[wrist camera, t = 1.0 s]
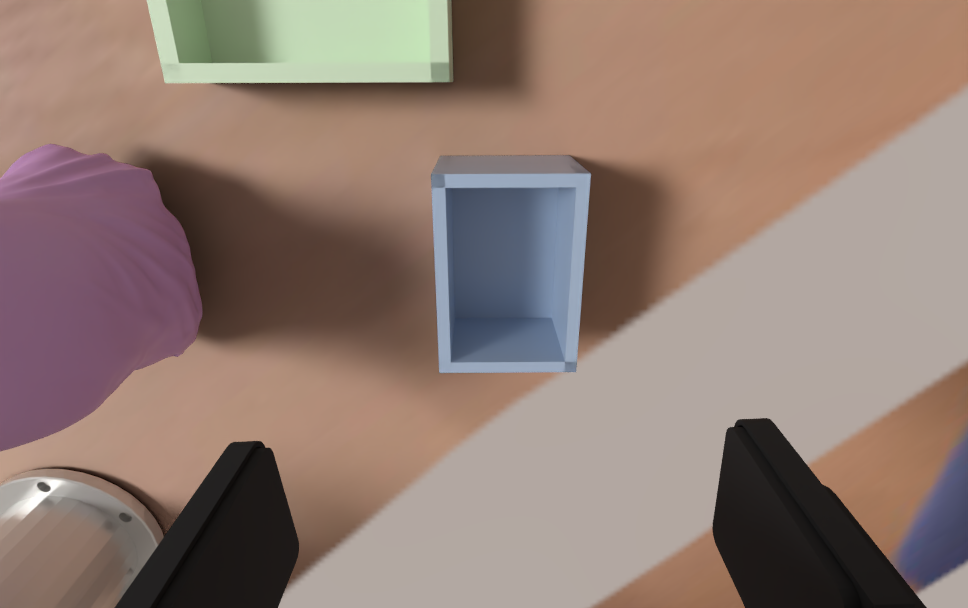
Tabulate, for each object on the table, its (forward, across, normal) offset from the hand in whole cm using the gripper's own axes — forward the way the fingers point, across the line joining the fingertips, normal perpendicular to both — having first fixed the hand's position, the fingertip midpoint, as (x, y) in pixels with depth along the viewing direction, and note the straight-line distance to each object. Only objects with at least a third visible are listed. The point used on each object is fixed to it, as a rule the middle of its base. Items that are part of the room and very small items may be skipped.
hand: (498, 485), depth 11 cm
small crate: (+21, 0, +2) cm, 21 cm away
